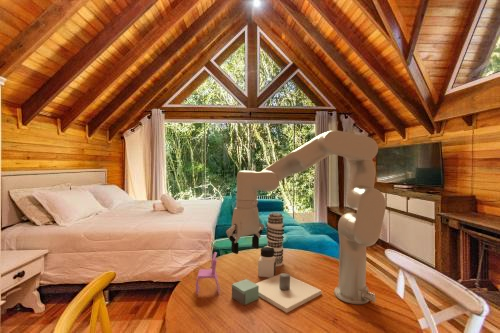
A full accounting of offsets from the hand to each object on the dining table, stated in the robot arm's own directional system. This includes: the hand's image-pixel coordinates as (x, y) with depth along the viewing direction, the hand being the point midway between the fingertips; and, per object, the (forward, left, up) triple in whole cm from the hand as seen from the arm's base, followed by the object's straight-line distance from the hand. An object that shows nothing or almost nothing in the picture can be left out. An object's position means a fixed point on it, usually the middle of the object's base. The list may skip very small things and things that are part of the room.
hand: (245, 250), depth 97 cm
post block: (-6, -15, -18) cm, 24 cm away
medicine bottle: (+10, -21, -18) cm, 29 cm away
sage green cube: (0, 0, -18) cm, 18 cm away
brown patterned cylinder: (+17, -33, -18) cm, 41 cm away
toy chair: (+13, +8, -18) cm, 24 cm away
